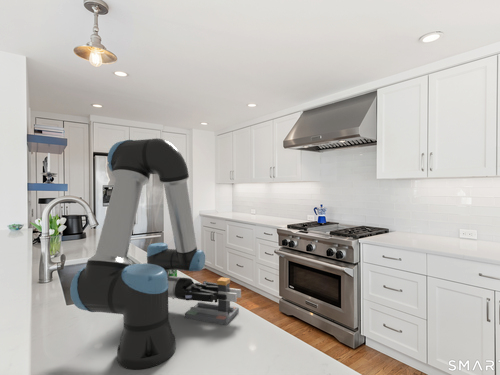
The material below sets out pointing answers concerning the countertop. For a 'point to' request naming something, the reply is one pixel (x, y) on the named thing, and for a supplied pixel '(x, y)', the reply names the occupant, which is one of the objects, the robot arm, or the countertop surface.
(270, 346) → the countertop surface
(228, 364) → the countertop surface
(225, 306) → the breaker handle
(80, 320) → the countertop surface
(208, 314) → the grey base
